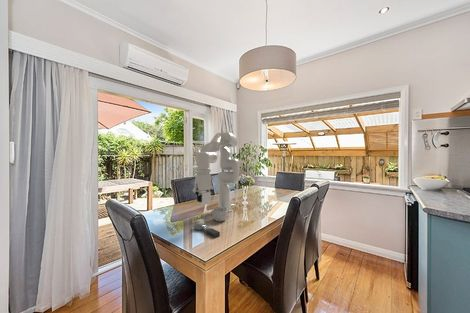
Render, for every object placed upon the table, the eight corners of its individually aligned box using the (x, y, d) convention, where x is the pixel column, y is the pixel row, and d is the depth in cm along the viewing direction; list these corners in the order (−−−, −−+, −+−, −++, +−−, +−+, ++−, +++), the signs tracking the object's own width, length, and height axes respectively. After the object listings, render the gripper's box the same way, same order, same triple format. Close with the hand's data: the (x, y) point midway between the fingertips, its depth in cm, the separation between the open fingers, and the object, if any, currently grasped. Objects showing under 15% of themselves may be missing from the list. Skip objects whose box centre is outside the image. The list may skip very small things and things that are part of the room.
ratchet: (222, 235, 118) (222, 225, 118) (211, 239, 113) (211, 229, 112) (202, 225, 133) (202, 217, 133) (191, 228, 128) (191, 219, 128)
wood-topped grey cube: (204, 201, 131) (204, 190, 131) (210, 203, 127) (210, 192, 127) (196, 203, 127) (196, 192, 127) (202, 205, 123) (202, 193, 123)
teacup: (223, 223, 137) (223, 211, 136) (209, 221, 140) (209, 210, 140) (231, 217, 150) (231, 206, 149) (217, 215, 153) (217, 205, 153)
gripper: (210, 170, 135) (211, 197, 136) (188, 172, 123) (188, 202, 124) (218, 171, 130) (218, 199, 130) (194, 173, 118) (195, 204, 118)
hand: (203, 200), depth 127 cm, fingers closed on wood-topped grey cube, 6 cm apart
